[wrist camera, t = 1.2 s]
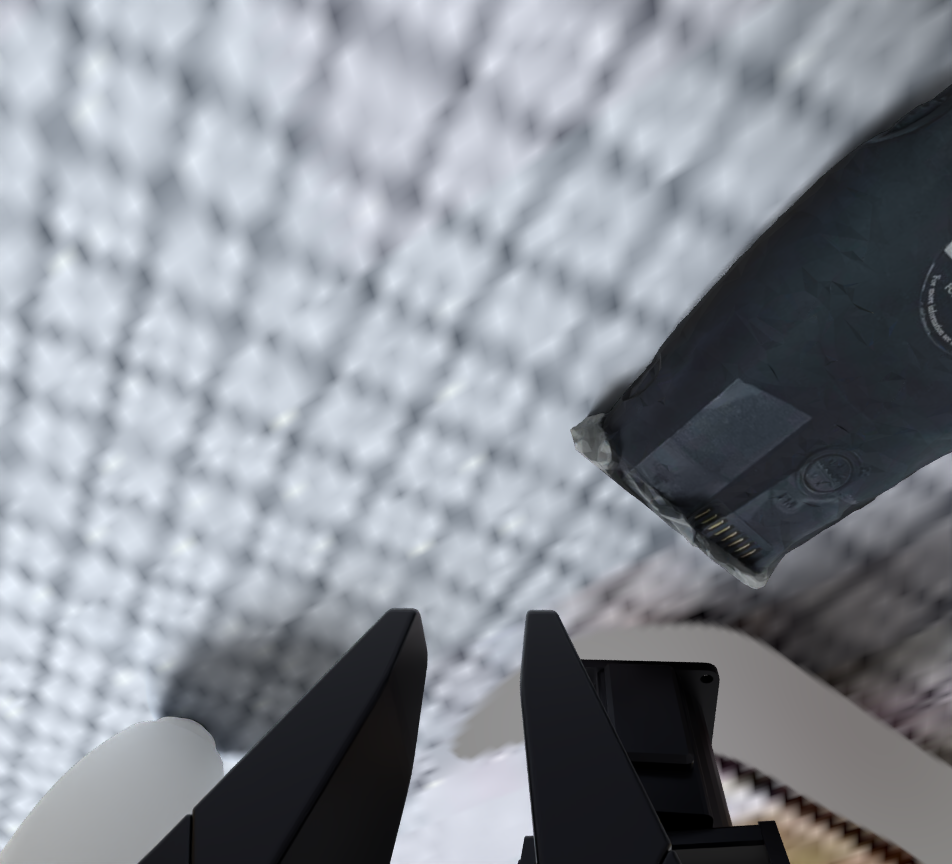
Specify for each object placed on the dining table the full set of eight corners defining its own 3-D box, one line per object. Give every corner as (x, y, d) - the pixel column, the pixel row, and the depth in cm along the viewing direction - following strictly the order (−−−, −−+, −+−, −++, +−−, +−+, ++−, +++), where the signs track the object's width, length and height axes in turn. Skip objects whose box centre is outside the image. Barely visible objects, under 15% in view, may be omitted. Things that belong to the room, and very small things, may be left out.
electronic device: (752, 533, 23) (1252, 242, 15) (767, 638, 18) (1510, 299, 10) (582, 376, 22) (1010, -23, 14) (553, 444, 17) (1169, -94, 9)
